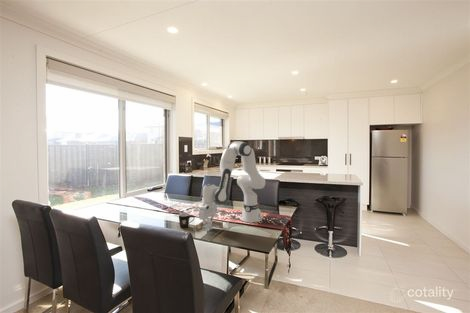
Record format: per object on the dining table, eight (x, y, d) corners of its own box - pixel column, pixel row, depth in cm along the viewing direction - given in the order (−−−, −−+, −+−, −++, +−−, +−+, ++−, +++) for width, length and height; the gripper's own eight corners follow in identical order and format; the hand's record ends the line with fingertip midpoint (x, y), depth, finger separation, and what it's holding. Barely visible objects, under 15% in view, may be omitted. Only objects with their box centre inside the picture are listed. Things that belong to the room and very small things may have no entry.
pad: (205, 226, 187) (205, 226, 187) (213, 228, 184) (213, 228, 184) (201, 229, 182) (201, 229, 182) (208, 231, 178) (208, 230, 178)
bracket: (201, 228, 182) (201, 222, 182) (205, 226, 186) (205, 220, 186) (209, 230, 179) (209, 223, 178) (213, 228, 183) (213, 221, 183)
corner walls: (206, 224, 193) (206, 219, 193) (222, 227, 186) (222, 222, 186) (194, 230, 179) (194, 225, 178) (211, 234, 171) (211, 229, 171)
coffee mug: (176, 228, 184) (176, 215, 183) (182, 224, 192) (181, 212, 191) (190, 229, 180) (190, 217, 180) (195, 226, 189) (195, 213, 188)
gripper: (212, 201, 193) (212, 217, 194) (197, 207, 175) (197, 225, 176) (218, 202, 190) (218, 218, 191) (204, 208, 172) (204, 226, 173)
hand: (208, 221), depth 184 cm, fingers open, 8 cm apart
